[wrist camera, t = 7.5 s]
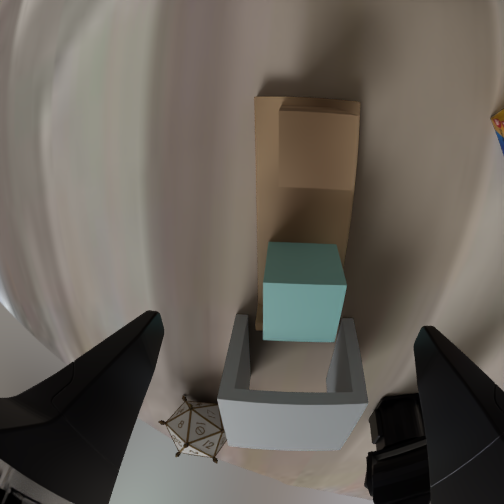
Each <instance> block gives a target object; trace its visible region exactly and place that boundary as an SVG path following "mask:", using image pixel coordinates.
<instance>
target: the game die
mask: <svg viewBox="0 0 504 504" xmlns="http://www.w3.org/2000/svg"><path fill="white" fill-rule="evenodd" d="M182 399H183V401H184V403H183V404H182V405H181V406H180V407H179V408H178V409H177V411H176V412H175V413H174V414H173V415H172V416H171V417H170V418H169V419H168V420H167V421H166V422H165V421H162V420H161V421H159V423H160V424H161V425H162V424H163V425H164V424H165V425H166V426H167V429H168V431H169V433H170V435H171V437H172V439H173V441H174V443H175V445H176V447H177V449H178V451H179V452H177V453H176V457H179V455H180V454H181V453H184V454H190V455H196V456H202V457H210V458H213V461H214V462H215V463H217V461H218V460H217V458H215V456H216V455H217V453H218V452H219V450H220V449H221V448H222V446H223V445H224V443H225V442H226V441H227V437H226V434H225V430H224V426H223V422H222V418H221V414H220V409H219V405H218V404H214V403H203V402H193V401H187V399H186V397H185V396H183V397H182Z"/></svg>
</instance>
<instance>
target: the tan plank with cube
mask: <svg viewBox="0 0 504 504" xmlns="http://www.w3.org/2000/svg"><path fill="white" fill-rule="evenodd" d="M254 105H255V151H256V203H257V264H258V308H257V315H256V322H255V327H256V330H258V331H263V280H264V272H265V265H266V257H267V250H268V242H290V243H316V244H336V245H337V249H338V252H339V256H340V260H341V264H342V268H344V262H345V256H346V249H347V243H348V236H349V229H350V221H351V214H352V205H353V197H354V187H355V177H356V166H357V154H358V140H359V122H360V102H357V101H348V100H337V99H325V98H308V97H272V96H264V97H254ZM338 328H339V325H338ZM337 332H338V329H337Z"/></svg>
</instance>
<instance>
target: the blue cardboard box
mask: <svg viewBox="0 0 504 504" xmlns="http://www.w3.org/2000/svg"><path fill="white" fill-rule="evenodd" d="M491 121H492V123H493V126H494V129H495V131H496V134H497V137H498V140H499V143H500V146H501V149H502V152H503V155H504V109H503V110H501V111H500V112H498V113H497V114H495V115H494V116H492V117H491Z"/></svg>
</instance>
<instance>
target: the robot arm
mask: <svg viewBox="0 0 504 504" xmlns="http://www.w3.org/2000/svg"><path fill="white" fill-rule="evenodd" d="M163 336H164V327H163V323H162V319H161V316H160V313H159V312H157V311H150V310H148V311H146V312H144V313H143V314H141V315H140V316H139V317H137V318H136V319H134V320H133V321H131V322H130V323H128V324H127V325H125V326H124V327H122V328H121V329H120V330H118V331H117V332H115V333H114V334H112V335H111V336H109V337H108V338H106V339H105V340H104V341H102V342H101V343H99V344H98V345H96V346H95V347H93V348H92V349H91V350H89V351H88V352H86V353H85V354H83V355H82V356H80V357H79V358H78V359H76V360H75V361H74V362H72V363H70V364H69V365H67V366H66V367H65V368H63V369H62V370H60V371H59V372H57V373H56V374H54V375H52V376H51V377H49V378H47V379H45V380H44V381H42V382H40V383H39V384H37V385H35V386H33V387H32V388H30V389H28V390H26V391H24V392H23V393H21V394H19V395H17V396H14V397H9V398H0V504H109V501H110V497H111V494H112V491H113V488H114V484H115V482H116V478H117V475H118V472H119V469H120V466H121V462H122V460H123V457H124V454H125V451H126V448H127V445H128V442H129V439H130V436H131V433H132V431H133V428H134V425H135V422H136V419H137V417H138V414H139V411H140V408H141V406H142V403H143V400H144V398H145V395H146V392H147V390H148V387H149V384H150V382H151V379H152V376H153V373H154V370H155V367H156V363H157V359H158V355H159V351H160V348H161V344H162V340H163ZM414 356H415V365H416V375H417V385H418V391H419V394H411V395H402V396H393V397H384V398H382V399H381V401H380V402H379V404H378V406H377V407H376V409H375V410H374V412H373V413H372V415H371V416H370V418H369V423H370V428H371V437H372V443H373V444H376V448H377V451H374V452H373V451H371V452H368V456H367V457H366V459H367V472H366V477H365V483H364V486H365V487H366V488H367V489H368V490H369V493H370V495H371V496H373V502H374V504H504V391H503V390H502V389H501V388H500V387H499V386H498V385H497V384H495V383H494V382H493V381H492V380H491V379H490V378H489V377H488V376H487V375H486V374H485V373H484V372H483V371H482V370H481V369H480V368H479V367H478V366H477V365H476V364H475V363H474V362H472V361H471V360H470V359H469V358H468V357H467V356H466V355H465V354H464V353H463V352H462V351H461V350H460V349H458V348H457V347H456V346H455V345H454V344H453V343H452V342H451V341H450V340H449V339H447V338H446V337H445V336H444V335H443V334H442V333H441V332H440V331H438V330H437V329H436V328H435V327H434V326H423V327H422V328H421V330H420V332H419V334H418V336H417V338H416V340H415V343H414Z"/></svg>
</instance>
